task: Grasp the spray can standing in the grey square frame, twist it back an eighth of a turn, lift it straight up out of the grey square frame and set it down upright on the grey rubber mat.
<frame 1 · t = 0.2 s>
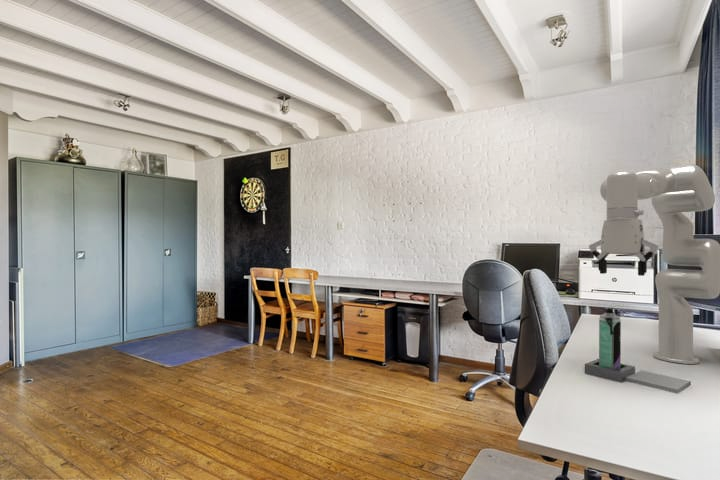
hand: (621, 274, 114), 31 cm above the table, tool pointing down, fingers open, 9 cm apart
mat: (658, 382, 113), on the table
spray can: (609, 375, 119), resting in grey square frame
grey square frame: (609, 375, 119), on the table
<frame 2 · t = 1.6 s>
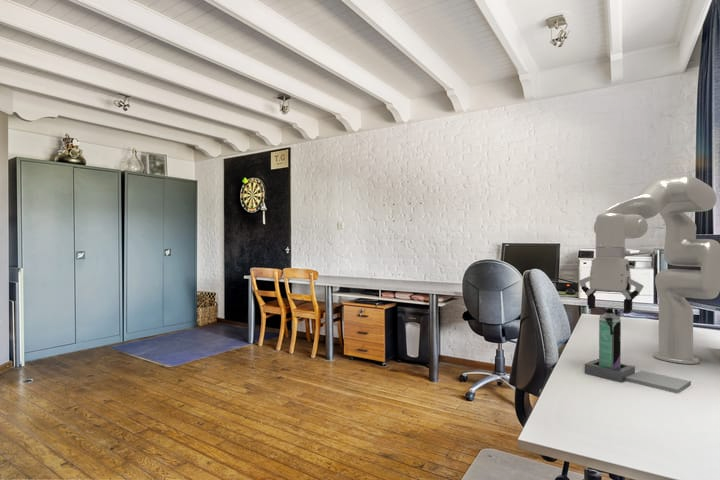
hand: (608, 310, 119), 19 cm above the table, tool pointing down, fingers open, 9 cm apart
nothing on the table moved.
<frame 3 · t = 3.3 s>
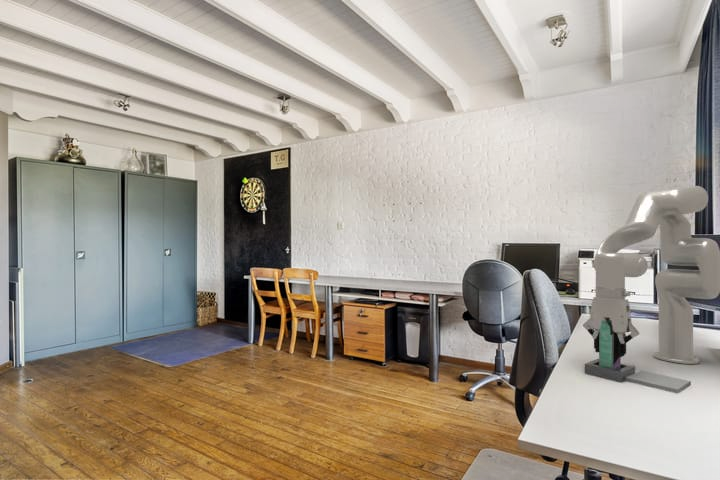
hand: (609, 353, 119), 6 cm above the table, tool pointing down, fingers closed on spray can, 5 cm apart
spray can: (609, 375, 119), resting in grey square frame, touching gripper
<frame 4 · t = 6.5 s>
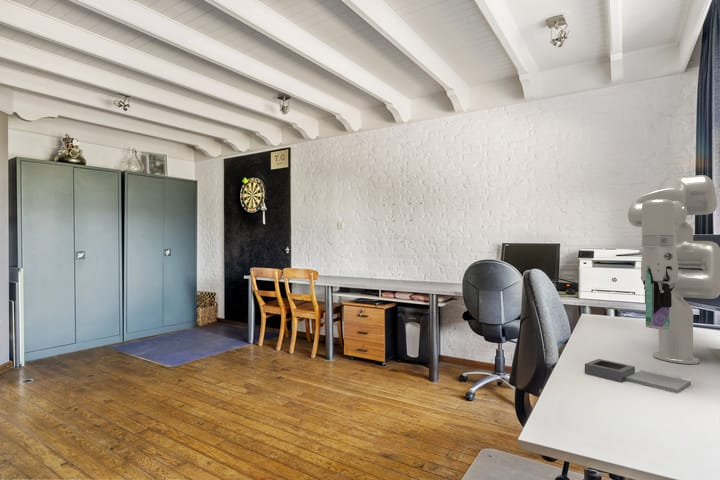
hand: (657, 304, 114), 22 cm above the table, tool pointing down, fingers closed on spray can, 5 cm apart
spray can: (657, 328, 113), point 15 cm above the table, touching gripper
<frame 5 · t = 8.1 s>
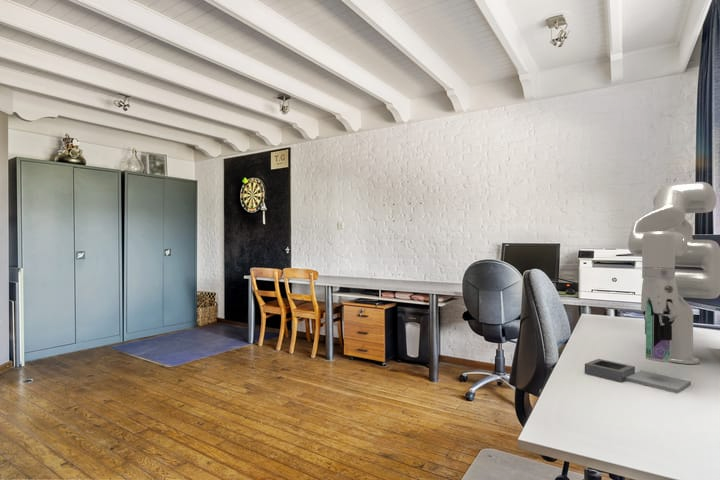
hand: (658, 336, 113), 13 cm above the table, tool pointing down, fingers closed on spray can, 5 cm apart
spray can: (657, 360, 113), point 6 cm above the table, touching gripper
when the fingers open (8 cm above the table, at t = 9.5 s): spray can stays where it is, resting on mat.
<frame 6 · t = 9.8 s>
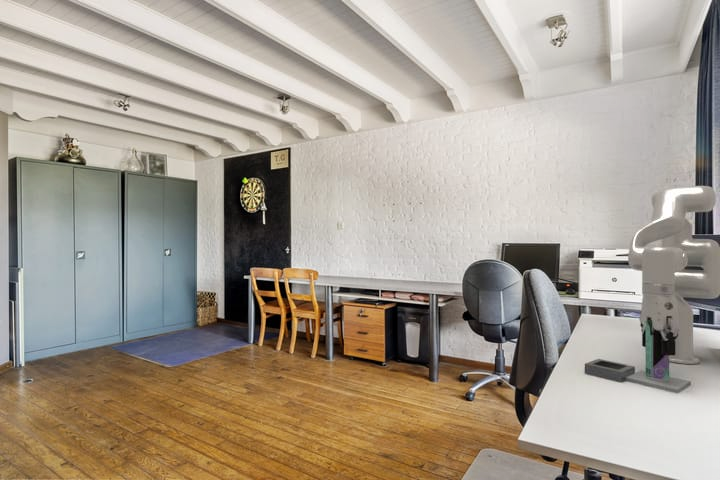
hand: (658, 350, 113), 9 cm above the table, tool pointing down, fingers open, 8 cm apart
spray can: (657, 379, 113), point 1 cm above the table, touching mat
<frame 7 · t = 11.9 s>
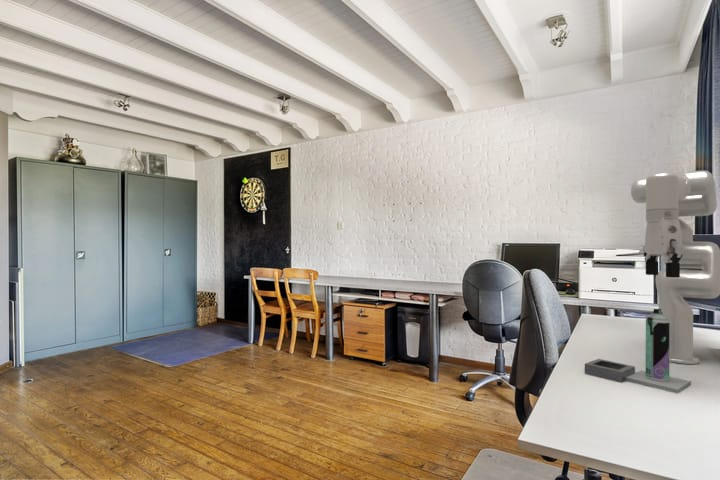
hand: (661, 276, 114), 30 cm above the table, tool pointing down, fingers open, 9 cm apart
nothing on the table moved.
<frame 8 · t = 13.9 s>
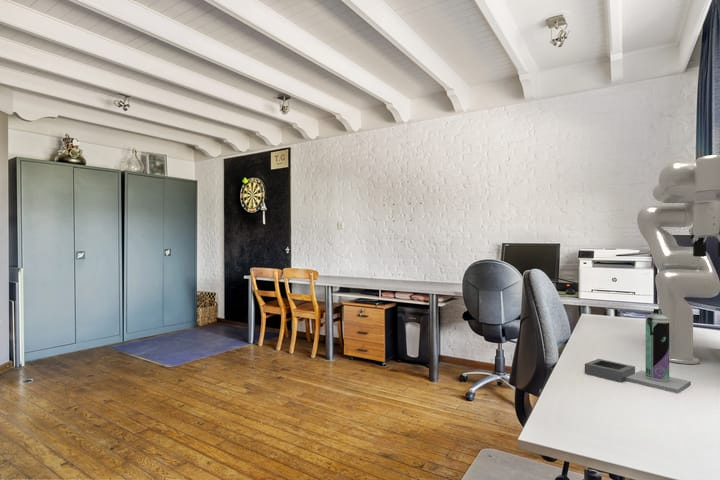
hand: (711, 256, 115), 36 cm above the table, tool pointing down, fingers open, 9 cm apart
nothing on the table moved.
at the end: spray can inside the target area on the mat (0.3 cm from its centre), point 0.8 cm above the mat's base; spray can tilted 0°; the gripper is holding nothing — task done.
